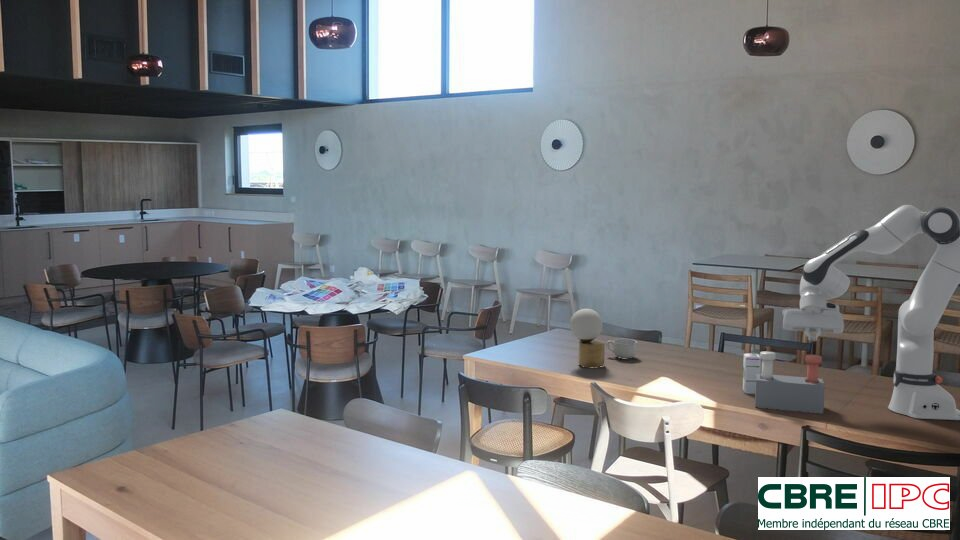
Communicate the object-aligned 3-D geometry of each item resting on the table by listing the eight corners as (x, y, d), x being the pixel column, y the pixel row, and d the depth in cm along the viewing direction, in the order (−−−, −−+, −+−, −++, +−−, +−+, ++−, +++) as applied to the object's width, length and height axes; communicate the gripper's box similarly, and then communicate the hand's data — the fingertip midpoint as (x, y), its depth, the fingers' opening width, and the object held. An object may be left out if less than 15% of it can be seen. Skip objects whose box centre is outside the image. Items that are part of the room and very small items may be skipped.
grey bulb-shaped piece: (773, 390, 275) (775, 352, 273) (774, 393, 270) (775, 355, 268) (758, 388, 276) (760, 351, 275) (758, 392, 271) (760, 354, 270)
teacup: (640, 357, 349) (640, 340, 348) (631, 361, 340) (631, 344, 339) (611, 353, 356) (612, 336, 356) (602, 357, 347) (602, 340, 346)
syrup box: (760, 394, 287) (761, 356, 285) (743, 393, 288) (745, 356, 286) (757, 390, 292) (759, 353, 291) (741, 389, 294) (743, 352, 292)
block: (820, 405, 272) (822, 378, 271) (823, 413, 263) (824, 385, 262) (754, 400, 279) (756, 373, 278) (755, 407, 270) (756, 380, 269)
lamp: (566, 367, 329) (567, 310, 326) (572, 360, 342) (573, 305, 339) (601, 370, 325) (603, 312, 322) (606, 362, 338) (607, 307, 335)
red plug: (818, 393, 270) (821, 355, 268) (820, 397, 265) (822, 358, 263) (803, 392, 271) (805, 354, 270) (804, 396, 266) (806, 357, 265)
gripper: (782, 302, 280) (782, 333, 272) (843, 305, 273) (845, 337, 265) (781, 312, 284) (781, 342, 276) (841, 315, 277) (842, 347, 269)
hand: (812, 340), depth 270 cm, fingers closed
